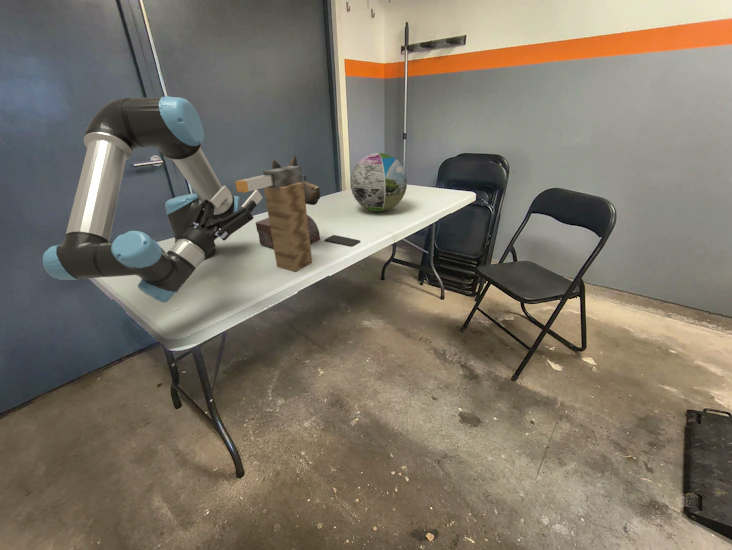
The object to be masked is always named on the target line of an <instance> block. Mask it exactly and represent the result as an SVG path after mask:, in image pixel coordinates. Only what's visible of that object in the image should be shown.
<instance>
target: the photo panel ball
mask: <svg viewBox="0 0 732 550" xmlns="http://www.w3.org/2000/svg"><path fill="white" fill-rule="evenodd" d="M407 186H408V176H407V173H406V170H405V168H404V166H403V165H402V163H401V162H400V161H399V160H398V159H397V158H396V157H394V156H393V155H390V154H388V153H384V152H383V153H382V152H376V153H371V154H368V155H365V156H364V157H363V158H362V159H360V160H359V161H358V162H357V164H355V166H354V168H353V171H352V173H351V176H350V190H351V192H352V195H353V197H354V199H355V201H357V203H358V204H359V205H360V206H361V207H362V208H364V209H366V210H368V211H372V212H377V213H378V212H385V211H388V210H389V211H390V210H391V209H393V208H394V207H396V206H397V205H398V204H399V203H400V202H401V201H402V200H403V198H404V196H405V194H406V191H407Z"/></svg>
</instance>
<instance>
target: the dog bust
mask: <svg viewBox="0 0 732 550" xmlns="http://www.w3.org/2000/svg"><path fill="white" fill-rule="evenodd" d="M271 165H272V166H271V167H272V169H277V168H281V167H282V166H281V165H280V163H279V162H278V161H277V160H276V159H273V160H272V163H271ZM288 166H298V160H297V156H296V155H294V156H293V157H292V158H291V160H290V161H289V164H288ZM300 183H303V185H304V194H305V203H306V205H310V206H315V205H317V203H318V202H319V200H320V199H321V191H320V187H319V186H317V185H316V184H314V183H310V182H309V181H307V176H306V175H305V174H303V173H302V182H300ZM307 220H308V229H309V238H310V245H311V244H313V243H315V242H316V241H319V240H320V239H321V233H320V230H319V227H318V225H317V223H316V222H315V220H314V219H313V218H312V217H311V216H309V214H307ZM255 226H256V232H257V234H258V239H259V245H260V246H264V247H267V248H272V249H274V246H273V240H272V234H271V228H270V222H269V217H267V218H264V219H261V220H257V221H256V222H255Z"/></svg>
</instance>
